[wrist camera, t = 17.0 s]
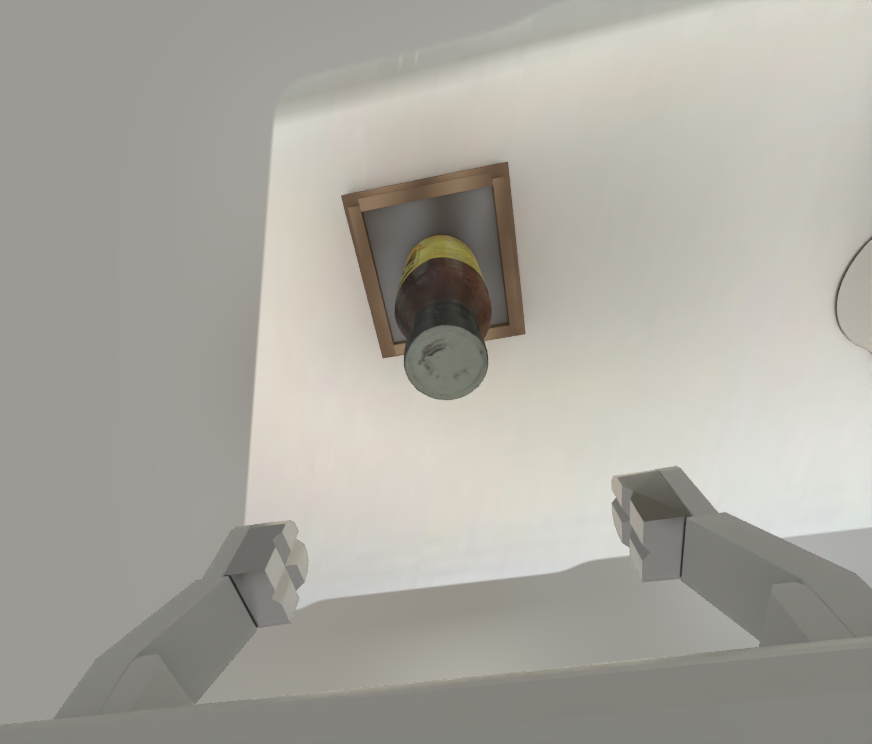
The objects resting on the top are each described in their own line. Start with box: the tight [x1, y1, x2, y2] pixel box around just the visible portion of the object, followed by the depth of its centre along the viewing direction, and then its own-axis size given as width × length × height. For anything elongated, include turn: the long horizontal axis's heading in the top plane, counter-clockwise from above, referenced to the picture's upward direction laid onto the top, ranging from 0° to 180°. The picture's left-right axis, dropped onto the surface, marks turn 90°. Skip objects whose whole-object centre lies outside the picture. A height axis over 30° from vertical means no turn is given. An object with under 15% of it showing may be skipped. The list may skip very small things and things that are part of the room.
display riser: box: [341, 162, 525, 358], centre depth 39 cm, size 14×15×4 cm
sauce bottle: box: [394, 234, 492, 400], centre depth 29 cm, size 7×6×20 cm
